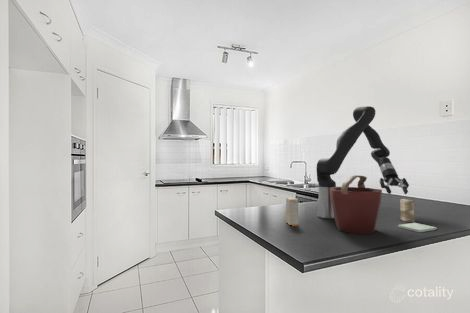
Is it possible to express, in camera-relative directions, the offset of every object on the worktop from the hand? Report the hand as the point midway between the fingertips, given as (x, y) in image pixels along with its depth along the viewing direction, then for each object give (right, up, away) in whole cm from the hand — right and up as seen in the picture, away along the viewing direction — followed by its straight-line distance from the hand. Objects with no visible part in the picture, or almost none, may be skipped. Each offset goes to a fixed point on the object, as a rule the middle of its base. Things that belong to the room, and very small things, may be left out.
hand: (398, 193), depth 146 cm
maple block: (-1, -13, -9) cm, 16 cm away
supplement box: (-63, -14, -16) cm, 67 cm away
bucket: (-36, -13, -26) cm, 46 cm away
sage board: (-7, -13, -25) cm, 29 cm away
